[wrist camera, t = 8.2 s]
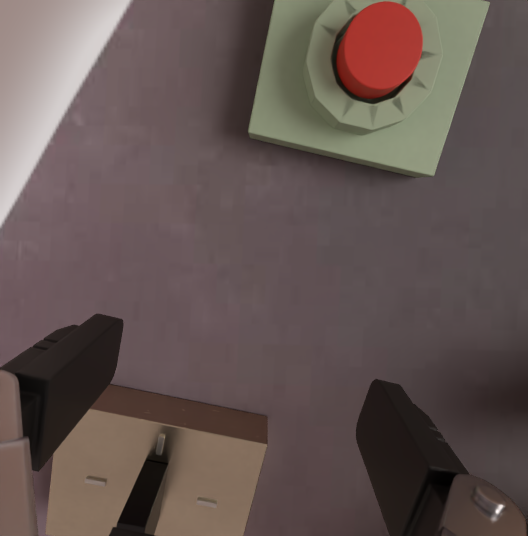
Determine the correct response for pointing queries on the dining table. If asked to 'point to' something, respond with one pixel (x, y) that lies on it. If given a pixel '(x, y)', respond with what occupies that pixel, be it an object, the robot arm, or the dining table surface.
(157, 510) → the red-tipped black block
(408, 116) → the switch block
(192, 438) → the lever switch base
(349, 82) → the button
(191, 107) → the dining table surface
